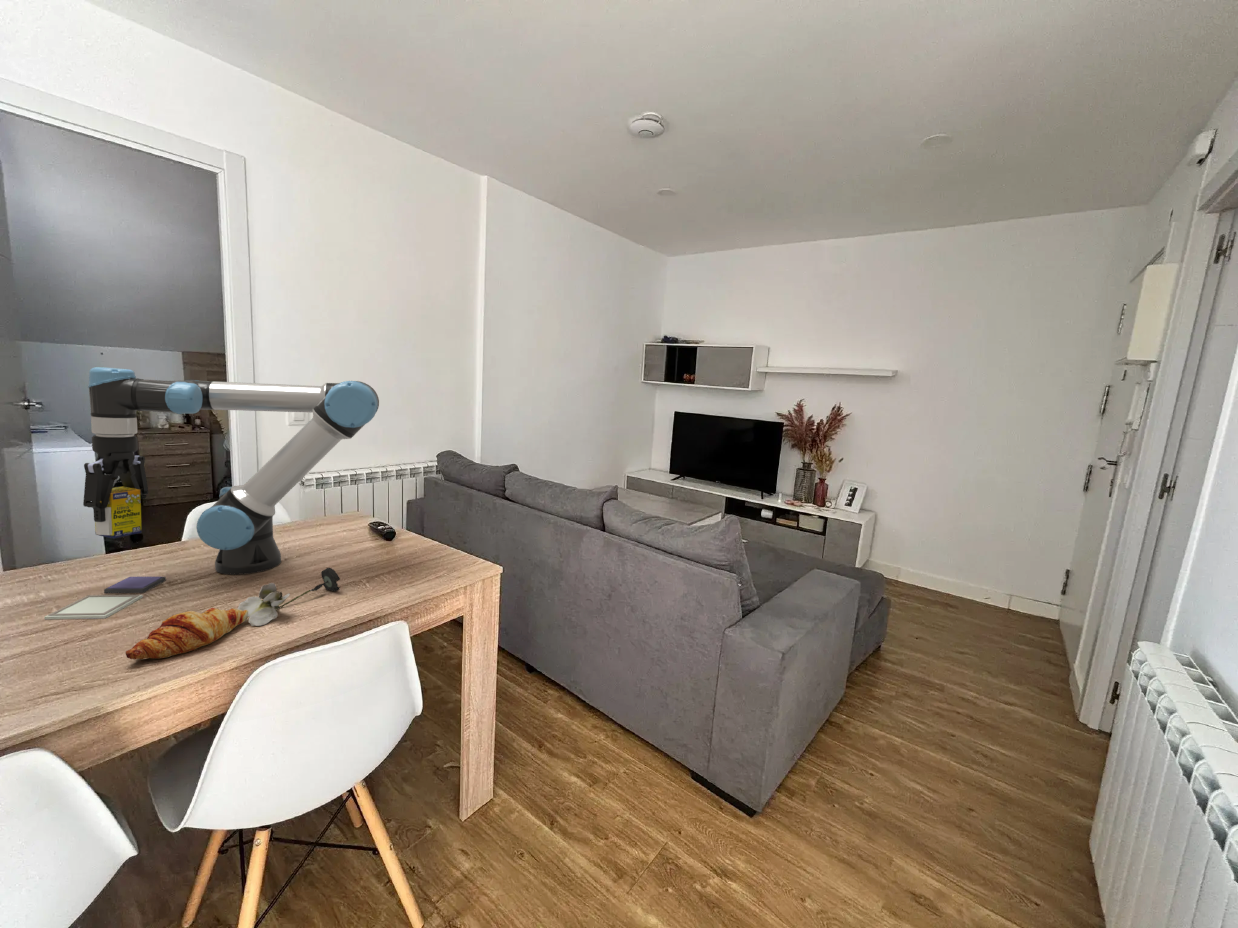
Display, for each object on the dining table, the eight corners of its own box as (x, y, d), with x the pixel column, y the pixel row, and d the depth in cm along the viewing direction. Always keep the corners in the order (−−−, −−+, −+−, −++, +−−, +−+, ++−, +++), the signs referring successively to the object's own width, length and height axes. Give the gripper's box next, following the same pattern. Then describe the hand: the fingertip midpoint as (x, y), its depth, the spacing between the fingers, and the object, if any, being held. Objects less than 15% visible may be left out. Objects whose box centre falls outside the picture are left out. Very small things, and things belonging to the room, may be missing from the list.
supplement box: (113, 539, 116) (110, 493, 114) (94, 535, 117) (92, 489, 116) (143, 533, 122) (141, 489, 120) (125, 529, 123) (123, 485, 122)
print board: (142, 597, 119) (142, 594, 119) (105, 618, 108) (105, 614, 108) (88, 597, 117) (87, 594, 117) (44, 619, 106) (44, 615, 106)
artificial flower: (347, 598, 129) (350, 566, 126) (253, 643, 110) (253, 606, 106) (325, 582, 132) (327, 551, 129) (230, 623, 113) (229, 587, 109)
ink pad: (165, 580, 129) (165, 575, 129) (143, 592, 121) (142, 588, 121) (129, 580, 127) (129, 575, 127) (104, 593, 120) (103, 588, 119)
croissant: (239, 630, 113) (228, 597, 113) (266, 621, 109) (254, 587, 110) (120, 678, 93) (106, 638, 94) (148, 668, 90) (133, 626, 90)
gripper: (132, 429, 126) (136, 517, 129) (53, 437, 106) (60, 541, 109) (166, 432, 127) (168, 519, 130) (93, 440, 107) (99, 543, 110)
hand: (119, 529), depth 119 cm, fingers closed on supplement box, 7 cm apart
